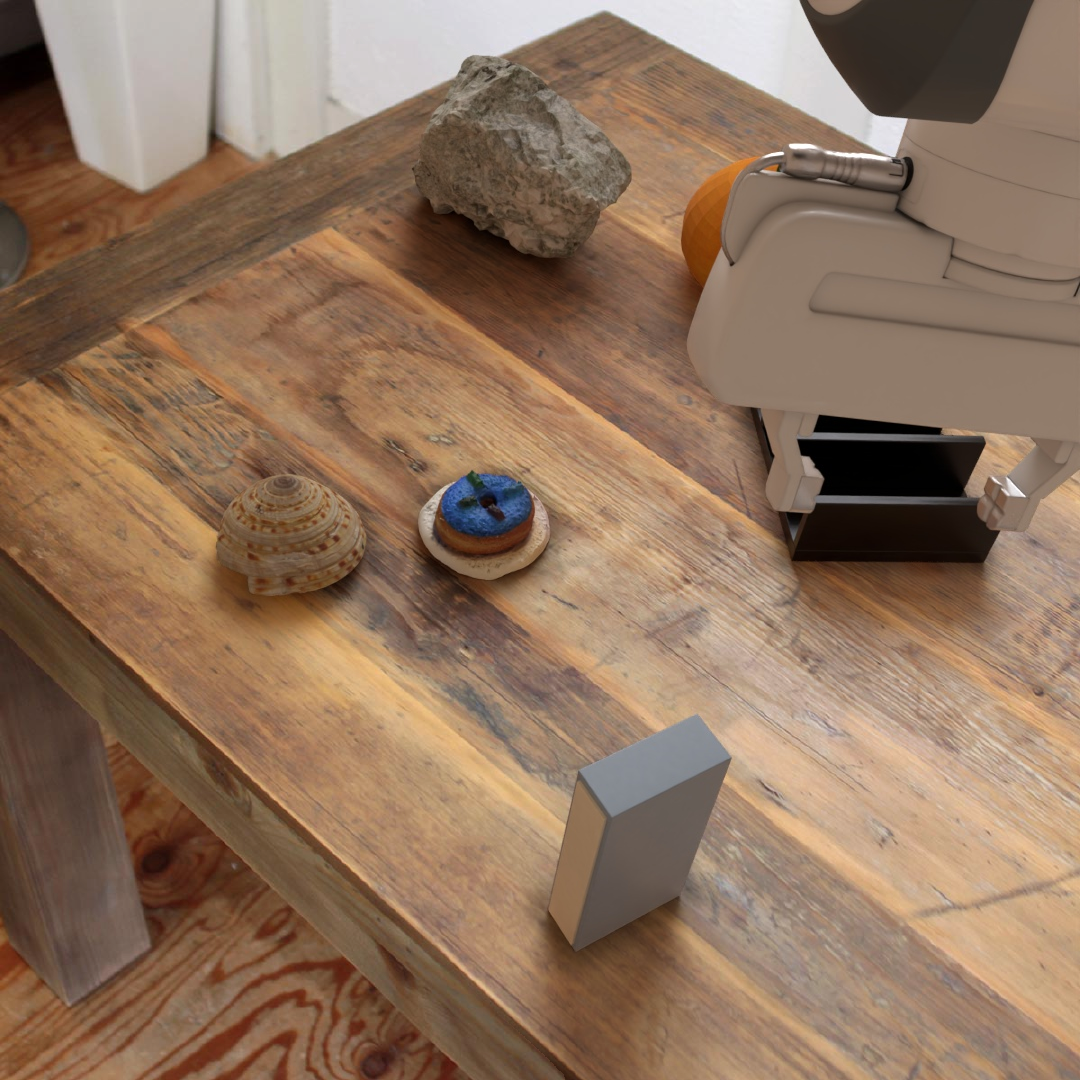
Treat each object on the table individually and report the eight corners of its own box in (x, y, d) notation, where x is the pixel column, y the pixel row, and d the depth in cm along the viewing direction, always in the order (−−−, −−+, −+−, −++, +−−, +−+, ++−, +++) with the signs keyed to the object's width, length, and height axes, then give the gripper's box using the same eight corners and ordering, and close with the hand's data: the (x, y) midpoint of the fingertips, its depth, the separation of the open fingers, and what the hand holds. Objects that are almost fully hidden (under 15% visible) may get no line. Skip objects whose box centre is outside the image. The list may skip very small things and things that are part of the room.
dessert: (469, 596, 74) (445, 493, 72) (411, 579, 79) (387, 483, 77) (583, 548, 78) (562, 451, 76) (520, 535, 83) (500, 444, 81)
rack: (913, 383, 91) (936, 325, 88) (984, 563, 80) (1014, 506, 77) (742, 378, 90) (758, 319, 86) (791, 561, 79) (812, 503, 75)
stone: (576, 237, 88) (389, 126, 90) (570, 317, 100) (404, 218, 102) (652, 131, 90) (467, 25, 92) (636, 221, 102) (473, 125, 104)
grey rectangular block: (680, 895, 64) (732, 757, 55) (572, 954, 61) (608, 820, 52) (651, 853, 65) (697, 712, 56) (544, 909, 62) (574, 771, 54)
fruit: (844, 338, 94) (885, 217, 86) (679, 326, 93) (706, 203, 85) (818, 239, 102) (854, 121, 94) (666, 227, 101) (690, 107, 93)
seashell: (191, 577, 71) (226, 440, 73) (212, 607, 76) (244, 478, 79) (343, 601, 71) (373, 464, 73) (354, 630, 76) (381, 500, 79)
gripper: (775, 161, 42) (670, 535, 49) (1317, 246, 47) (1152, 575, 54) (720, 109, 47) (632, 453, 54) (1212, 190, 52) (1074, 497, 59)
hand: (895, 515), depth 54 cm, fingers open, 8 cm apart
